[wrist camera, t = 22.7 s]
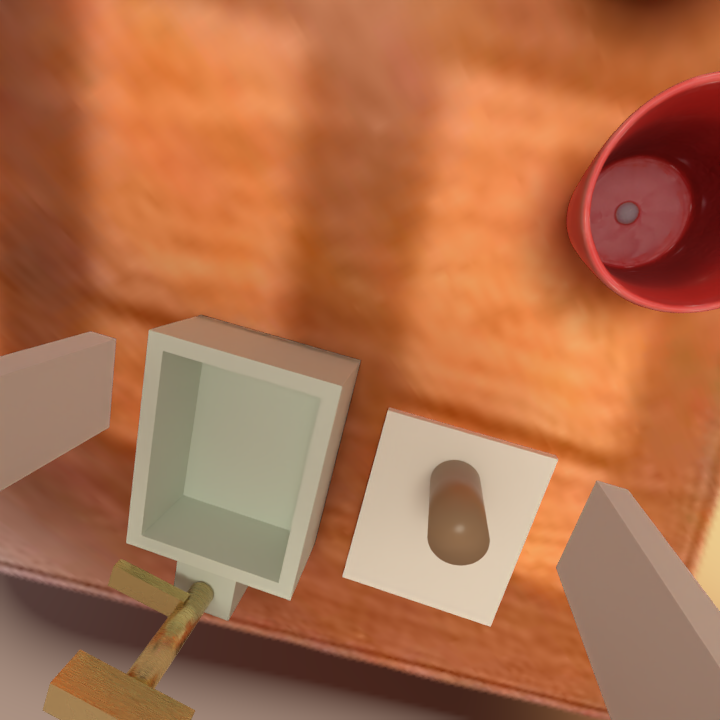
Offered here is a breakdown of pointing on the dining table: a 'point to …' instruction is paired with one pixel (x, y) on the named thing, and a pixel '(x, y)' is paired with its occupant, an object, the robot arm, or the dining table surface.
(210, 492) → the junction box
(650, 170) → the flower pot
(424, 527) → the cover
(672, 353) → the dining table surface
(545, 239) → the dining table surface
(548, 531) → the dining table surface
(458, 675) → the dining table surface
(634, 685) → the robot arm
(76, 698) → the t key
